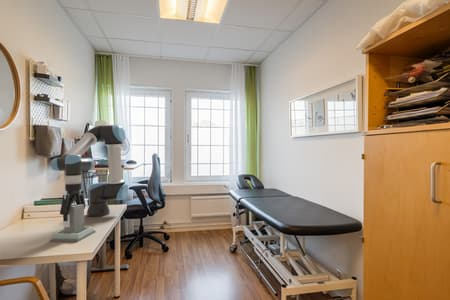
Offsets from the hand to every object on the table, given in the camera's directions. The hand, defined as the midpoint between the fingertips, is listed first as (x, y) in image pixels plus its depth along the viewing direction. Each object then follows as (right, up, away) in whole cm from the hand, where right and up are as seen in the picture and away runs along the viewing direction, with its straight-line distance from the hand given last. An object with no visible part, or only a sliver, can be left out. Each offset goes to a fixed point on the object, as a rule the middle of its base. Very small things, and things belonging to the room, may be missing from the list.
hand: (73, 223), depth 140 cm
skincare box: (0, -6, +1) cm, 6 cm away
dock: (0, -7, 0) cm, 7 cm away
